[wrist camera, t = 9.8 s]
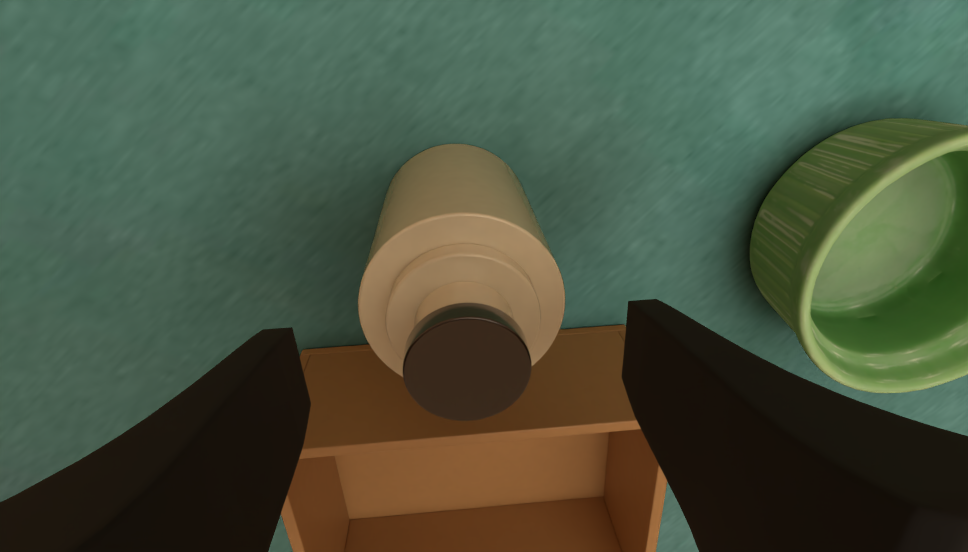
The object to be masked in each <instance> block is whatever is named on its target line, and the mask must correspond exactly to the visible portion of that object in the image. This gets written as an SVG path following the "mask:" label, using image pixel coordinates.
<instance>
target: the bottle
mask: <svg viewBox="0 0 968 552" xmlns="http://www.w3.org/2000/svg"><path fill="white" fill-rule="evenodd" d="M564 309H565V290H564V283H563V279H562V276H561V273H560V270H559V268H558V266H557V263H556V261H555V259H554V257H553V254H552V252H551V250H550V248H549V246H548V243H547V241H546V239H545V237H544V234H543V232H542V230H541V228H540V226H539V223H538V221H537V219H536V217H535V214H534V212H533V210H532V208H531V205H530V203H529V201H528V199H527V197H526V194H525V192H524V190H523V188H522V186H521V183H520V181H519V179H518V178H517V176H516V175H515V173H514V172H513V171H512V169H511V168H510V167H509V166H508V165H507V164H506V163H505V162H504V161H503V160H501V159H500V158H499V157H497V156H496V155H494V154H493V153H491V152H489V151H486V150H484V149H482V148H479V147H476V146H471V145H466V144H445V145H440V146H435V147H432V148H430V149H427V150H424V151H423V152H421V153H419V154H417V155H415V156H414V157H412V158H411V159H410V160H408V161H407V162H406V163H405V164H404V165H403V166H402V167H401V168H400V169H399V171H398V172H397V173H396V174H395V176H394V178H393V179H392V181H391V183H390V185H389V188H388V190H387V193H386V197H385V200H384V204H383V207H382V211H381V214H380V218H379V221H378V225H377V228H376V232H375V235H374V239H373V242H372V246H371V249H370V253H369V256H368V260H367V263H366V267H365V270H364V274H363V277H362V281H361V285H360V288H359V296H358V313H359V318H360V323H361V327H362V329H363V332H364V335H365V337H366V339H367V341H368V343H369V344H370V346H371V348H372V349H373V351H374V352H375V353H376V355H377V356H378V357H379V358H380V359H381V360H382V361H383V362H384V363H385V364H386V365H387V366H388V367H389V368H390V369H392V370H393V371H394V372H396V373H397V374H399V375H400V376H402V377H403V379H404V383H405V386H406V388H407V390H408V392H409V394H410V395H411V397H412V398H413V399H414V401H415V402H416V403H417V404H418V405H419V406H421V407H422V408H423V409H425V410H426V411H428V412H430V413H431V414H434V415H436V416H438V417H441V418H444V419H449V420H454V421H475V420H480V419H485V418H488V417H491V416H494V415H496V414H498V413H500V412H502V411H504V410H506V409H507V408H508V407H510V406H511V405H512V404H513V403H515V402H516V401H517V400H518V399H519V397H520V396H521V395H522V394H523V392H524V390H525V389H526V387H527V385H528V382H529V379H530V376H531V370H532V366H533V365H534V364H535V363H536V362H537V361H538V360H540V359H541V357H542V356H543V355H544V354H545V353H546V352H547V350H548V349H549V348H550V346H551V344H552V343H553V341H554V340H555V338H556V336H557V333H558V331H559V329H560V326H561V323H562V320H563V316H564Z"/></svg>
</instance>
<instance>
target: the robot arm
mask: <svg viewBox="0 0 968 552" xmlns="http://www.w3.org/2000/svg"><path fill="white" fill-rule="evenodd" d="M622 380H623V383H624V387H625V390H626V393H627V396H628V399H629V402H630V404H631V407H632V410H633V413H634V415H635V418H636V420H637V422H638V424H639V426H640V428H641V430H642V432H643V434H644V436H645V438H646V440H647V442H648V444H649V446H650V448H651V450H652V452H653V454H654V456H655V458H656V460H657V462H658V464H659V466H660V468H661V470H662V472H663V474H664V475H665V477H666V479H667V481H668V483H669V485H670V487H671V489H672V491H673V493H674V495H675V497H676V499H677V501H678V503H679V505H680V507H681V509H682V511H683V514H684V516H685V518H686V520H687V522H688V524H689V527H690V529H691V532H692V534H693V537H694V539H695V542H696V545H697V547H698V550H699V552H968V436H965V435H961V434H958V433H954V432H951V431H947V430H944V429H940V428H937V427H933V426H930V425H927V424H924V423H921V422H917V421H914V420H911V419H908V418H905V417H902V416H899V415H896V414H893V413H890V412H887V411H885V410H882V409H879V408H876V407H873V406H870V405H868V404H865V403H862V402H859V401H857V400H854V399H851V398H849V397H846V396H844V395H841V394H838V393H836V392H834V391H831V390H829V389H827V388H824V387H822V386H820V385H817V384H815V383H813V382H810V381H808V380H806V379H803V378H801V377H799V376H797V375H794V374H792V373H790V372H788V371H786V370H784V369H782V368H780V367H778V366H776V365H774V364H772V363H770V362H768V361H766V360H764V359H762V358H760V357H758V356H756V355H754V354H752V353H751V352H749V351H747V350H745V349H743V348H741V347H739V346H738V345H736V344H734V343H732V342H731V341H729V340H727V339H725V338H724V337H722V336H720V335H718V334H717V333H715V332H713V331H711V330H710V329H708V328H706V327H705V326H703V325H701V324H700V323H698V322H696V321H695V320H693V319H691V318H690V317H688V316H686V315H684V314H683V313H681V312H679V311H678V310H676V309H674V308H672V307H671V306H669V305H667V304H665V303H663V302H661V301H659V300H657V299H651V300H638V301H628V312H627V323H626V334H625V344H624V355H623V366H622ZM310 407H311V401H310V397H309V393H308V389H307V385H306V381H305V377H304V373H303V369H302V365H301V361H300V357H299V353H298V349H297V345H296V341H295V337H294V333H293V329H292V327H291V328H278V329H265V330H262V331H260V332H259V333H257V334H256V335H254V336H253V337H252V338H250V339H249V340H248V341H246V342H245V343H244V344H242V345H241V346H240V347H239V348H237V349H236V350H235V351H234V352H232V353H231V354H230V355H229V356H227V357H226V358H225V359H224V360H222V361H221V362H220V363H219V364H217V365H216V366H215V367H214V368H212V369H211V370H210V371H209V372H207V373H206V374H205V375H204V376H202V377H201V378H200V379H198V380H197V381H196V382H195V383H193V384H192V385H191V386H190V387H188V388H187V389H185V390H184V391H183V392H181V393H180V394H179V395H177V396H176V397H174V398H173V399H172V400H170V401H169V402H168V403H166V404H165V405H163V406H162V407H161V408H159V409H158V410H157V411H155V412H154V413H153V414H151V415H150V416H148V417H147V418H146V419H144V420H143V421H141V422H140V423H138V424H137V425H135V426H134V427H132V428H131V429H129V430H128V431H126V432H125V433H123V434H122V435H120V436H118V437H117V438H115V439H114V440H112V441H110V442H109V443H107V444H106V445H104V446H102V447H101V448H99V449H97V450H96V451H94V452H93V453H91V454H89V455H88V456H86V457H84V458H82V459H81V460H79V461H77V462H75V463H74V464H72V465H70V466H68V467H66V468H64V469H63V470H61V471H59V472H57V473H55V474H53V475H52V476H50V477H48V478H46V479H44V480H42V481H41V482H39V483H37V484H35V485H33V486H31V487H29V488H28V489H26V490H24V491H22V492H20V493H18V494H16V495H15V496H13V497H11V498H9V499H7V500H5V501H3V502H1V503H0V552H268V550H269V547H270V544H271V541H272V538H273V535H274V532H275V529H276V526H277V523H278V520H279V517H280V514H281V511H282V508H283V506H284V503H285V500H286V497H287V494H288V491H289V488H290V485H291V482H292V479H293V476H294V473H295V470H296V467H297V464H298V461H299V458H300V455H301V451H302V448H303V445H304V440H305V435H306V430H307V425H308V419H309V413H310Z"/></svg>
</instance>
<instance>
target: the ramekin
mask: <svg viewBox="0 0 968 552" xmlns="http://www.w3.org/2000/svg"><path fill="white" fill-rule="evenodd" d="M750 265H751V270H752V274H753V277H754V280H755V282H756V284H757V286H758V288H759V290H760V292H761V293H762V295H763V296H764V298H765V299H766V300H767V301H768V303H769V304H770V305H771V306H772V307H773V308H774V309H775V311H776V312H777V313H778V314H779V315H780V316H781V317H782V318H783V319H784V321H785V322H786V323H787V324H788V325H789V326H790V327H791V329H792V330H793V331H794V332H795V333H796V335H797V338H798V340H799V342H800V344H801V345H802V347H803V349H804V351H805V352H806V354H807V355H808V356H809V358H810V359H811V360H812V362H813V363H814V364H815V365H816V366H817V367H818V368H819V369H820V370H821V371H822V372H824V373H825V374H826V375H827V376H829V377H830V378H832V379H834V380H835V381H837V382H839V383H841V384H843V385H846V386H848V387H851V388H854V389H857V390H862V391H867V392H875V393H900V392H910V391H915V390H922V389H927V388H930V387H934V386H937V385H940V384H943V383H946V382H949V381H951V380H954V379H957V378H959V377H962V376H964V375H967V374H968V126H966V125H959V124H951V123H944V122H936V121H928V120H920V119H908V118H899V119H882V120H877V121H870V122H866V123H863V124H859V125H856V126H853V127H850V128H848V129H846V130H843V131H841V132H839V133H836V134H834V135H833V136H831V137H829V138H827V139H825V140H824V141H822V142H821V143H819V144H818V145H816V146H815V147H813V148H812V149H811V150H809V151H808V152H807V153H805V154H804V155H803V156H802V157H800V158H799V159H798V160H797V161H796V162H795V163H794V164H793V165H792V166H791V167H790V168H789V169H788V170H787V171H786V172H785V173H784V174H783V175H782V177H781V178H780V179H779V180H778V181H777V183H776V184H775V185H774V187H773V188H772V189H771V191H770V192H769V193H768V195H767V197H766V198H765V200H764V202H763V204H762V206H761V208H760V210H759V212H758V215H757V218H756V220H755V222H754V228H753V231H752V236H751V241H750Z"/></svg>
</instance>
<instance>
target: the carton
mask: <svg viewBox="0 0 968 552" xmlns="http://www.w3.org/2000/svg"><path fill="white" fill-rule="evenodd" d="M625 334H626V327H625V325H612V326H600V327H587V328H574V329H561V330H559V331H558V333H557V336H556V338H555V340H554V341H553V343H552V344H551V346H550V348H549V349H548V350H547V352H546V353H545V354H544V355H543V356H542V357H541V359H540V360H538V361H537V362H536V363H535V364H534V365H533V366H532V370H531V376H530V379H529V382H528V385H527V387H526V389H525V390H524V392H523V394H522V395H521V396H520V397H519V399H518V400H517V401H516V402H515V403H513V404H512V405H511V406H510V407H508V408H507V409H506V410H504V411H502V412H500V413H498V414H496V415H494V416H491V417H488V418H485V419H480V420H475V421H454V420H449V419H444V418H441V417H438V416H436V415H434V414H431V413H430V412H428V411H426V410H425V409H423V408H422V407H421V406H419V405H418V404H417V403H416V402H415V401H414V399H413V398H412V397H411V395H410V394H409V392H408V390H407V388H406V386H405V383H404V379H403V377H402V376H400V375H399V374H397V373H396V372H394V371H393V370H392V369H390V368H389V367H388V366H387V365H386V364H385V363H384V362H383V361H382V360H381V359H380V358H379V357H378V356H377V355H376V353H375V352H374V351H373V349H372V348H371V346H370V344H368V345H355V346H342V347H329V348H317V349H304V350H302V353H301V356H300V361H301V365H302V369H303V373H304V377H305V381H306V385H307V389H308V393H309V397H310V401H311V407H310V413H309V419H308V425H307V430H306V435H305V440H304V445H303V448H302V451H301V455H300V458H299V461H298V464H297V467H296V470H295V473H294V476H293V479H292V482H291V485H290V488H289V491H288V494H287V497H286V500H285V503H284V506H283V508H282V511H281V515H282V519H283V522H284V525H285V528H286V531H287V534H288V537H289V540H290V543H291V546H292V549H293V552H656V547H657V540H658V534H659V528H660V522H661V516H662V510H663V504H664V498H665V491H666V485H667V479H666V477H665V475H664V474H663V472H662V470H661V468H660V466H659V464H658V462H657V460H656V458H655V456H654V454H653V452H652V450H651V448H650V446H649V444H648V442H647V440H646V438H645V436H644V434H643V432H642V430H641V428H640V426H639V424H638V422H637V420H636V418H635V415H634V413H633V410H632V407H631V404H630V402H629V399H628V396H627V393H626V390H625V387H624V383H623V380H622V366H623V355H624V344H625Z"/></svg>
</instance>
